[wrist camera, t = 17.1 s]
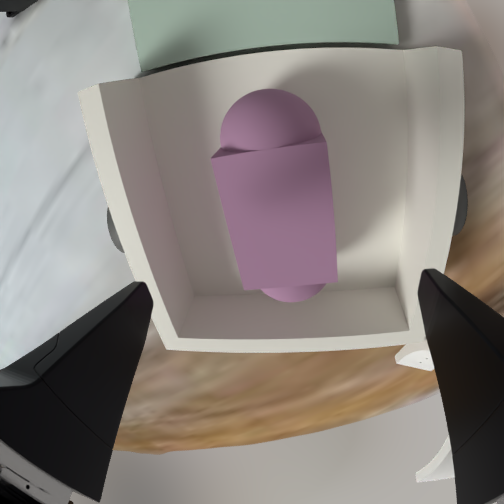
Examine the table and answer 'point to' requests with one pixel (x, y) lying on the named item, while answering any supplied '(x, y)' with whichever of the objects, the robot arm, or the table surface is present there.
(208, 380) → the table surface
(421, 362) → the headphone stand
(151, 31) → the panel
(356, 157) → the wagon bed
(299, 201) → the dome-topped mauve block
